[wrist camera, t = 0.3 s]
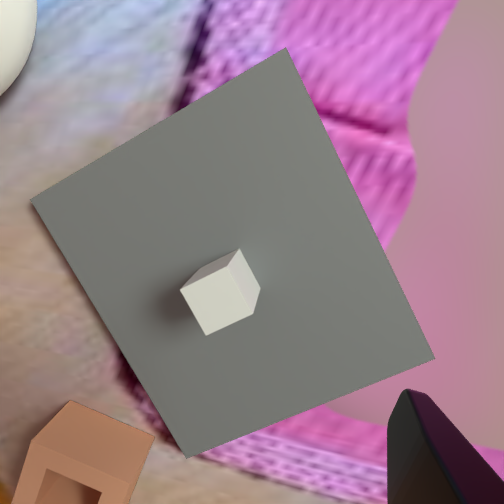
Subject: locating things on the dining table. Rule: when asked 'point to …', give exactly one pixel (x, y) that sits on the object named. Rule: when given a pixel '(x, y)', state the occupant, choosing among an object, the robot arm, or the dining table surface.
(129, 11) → the dining table surface
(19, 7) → the flower in vase
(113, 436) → the collar
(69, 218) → the post plate
